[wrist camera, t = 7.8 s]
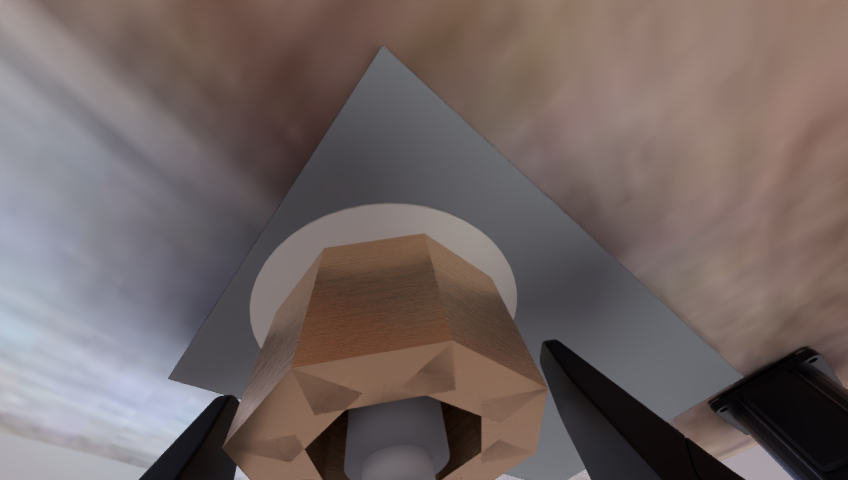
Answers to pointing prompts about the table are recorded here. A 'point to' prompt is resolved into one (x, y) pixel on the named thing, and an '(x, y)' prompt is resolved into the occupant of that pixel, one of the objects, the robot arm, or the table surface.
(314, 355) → the wooden ring
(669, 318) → the board
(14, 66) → the table surface
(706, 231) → the table surface
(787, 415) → the robot arm
